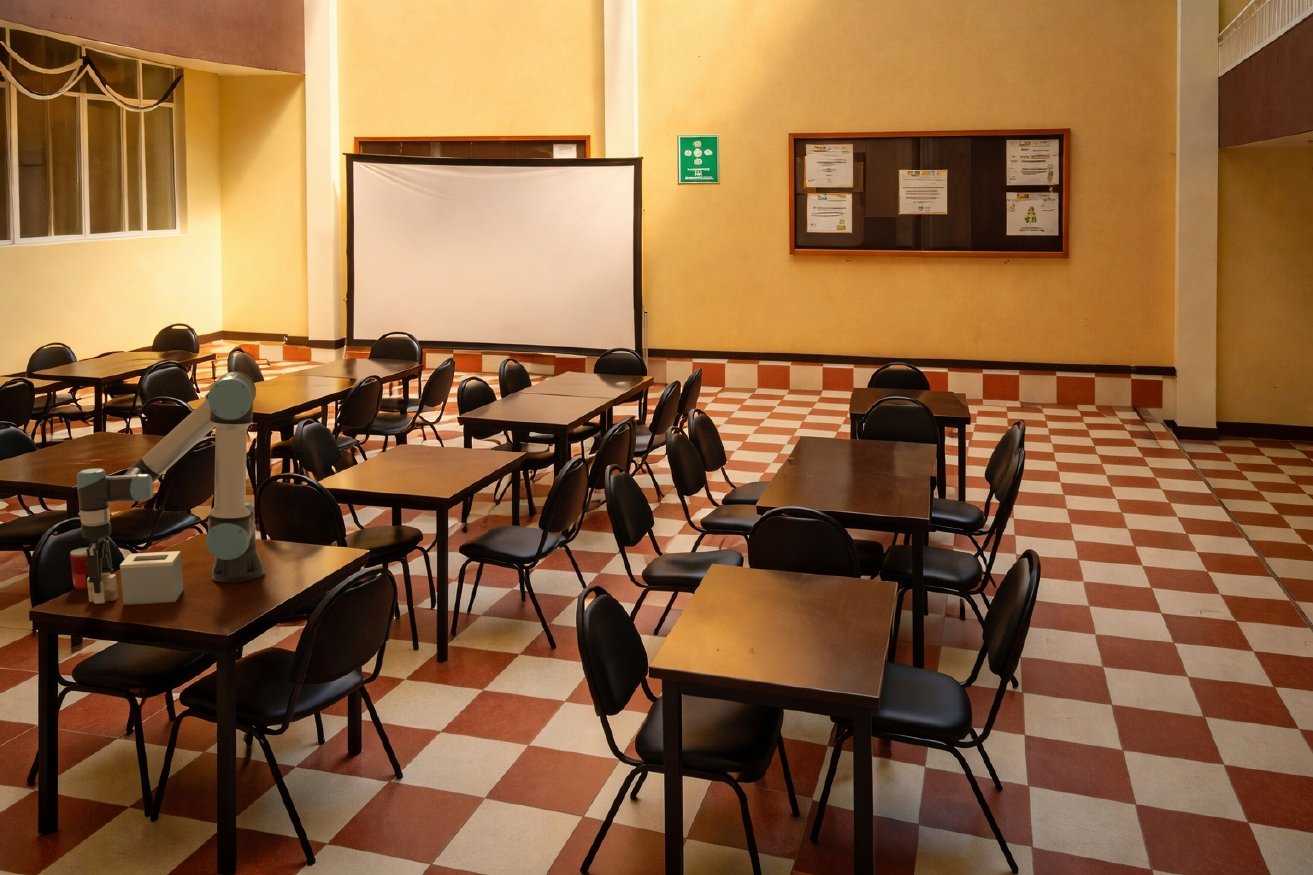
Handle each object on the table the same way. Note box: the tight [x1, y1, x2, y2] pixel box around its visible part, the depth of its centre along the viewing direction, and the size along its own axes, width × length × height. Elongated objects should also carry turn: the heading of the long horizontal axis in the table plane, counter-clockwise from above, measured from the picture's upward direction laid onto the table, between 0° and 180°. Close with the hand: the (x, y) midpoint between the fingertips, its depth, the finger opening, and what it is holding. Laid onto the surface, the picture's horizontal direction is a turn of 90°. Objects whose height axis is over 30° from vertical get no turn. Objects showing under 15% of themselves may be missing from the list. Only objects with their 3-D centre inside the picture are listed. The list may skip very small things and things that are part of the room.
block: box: [87, 573, 119, 603], centre depth 318 cm, size 7×3×7 cm, turn 102°
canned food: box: [69, 546, 89, 591], centre depth 330 cm, size 8×8×11 cm
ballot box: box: [119, 550, 184, 606], centre depth 320 cm, size 14×11×12 cm
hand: (103, 598), depth 319 cm, fingers open, 7 cm apart
